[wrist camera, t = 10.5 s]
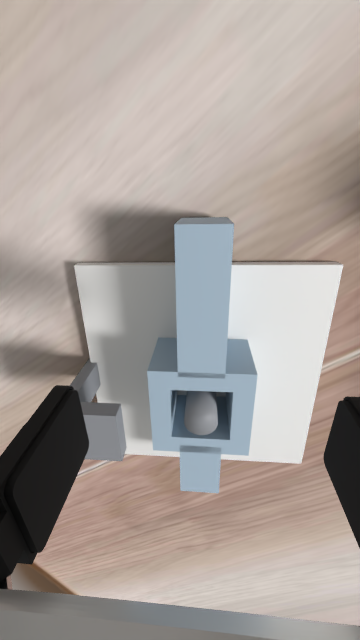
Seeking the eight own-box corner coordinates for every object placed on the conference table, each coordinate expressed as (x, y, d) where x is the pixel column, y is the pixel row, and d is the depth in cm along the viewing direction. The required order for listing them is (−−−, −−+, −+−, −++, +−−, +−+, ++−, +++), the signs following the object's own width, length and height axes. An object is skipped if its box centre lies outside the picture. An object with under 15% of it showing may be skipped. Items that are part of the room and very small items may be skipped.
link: (237, 446, 28) (244, 494, 23) (164, 442, 29) (156, 488, 24) (258, 217, 19) (274, 223, 15) (151, 218, 20) (136, 224, 15)
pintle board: (74, 262, 23) (8, 296, 15) (337, 261, 21) (412, 299, 13) (105, 445, 31) (72, 527, 23) (298, 455, 29) (331, 547, 22)
